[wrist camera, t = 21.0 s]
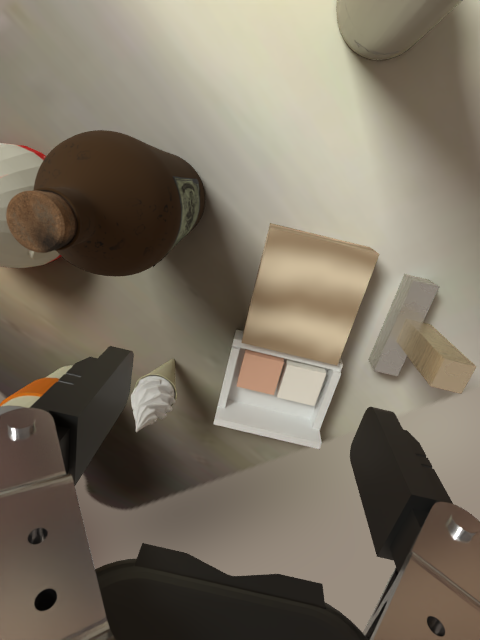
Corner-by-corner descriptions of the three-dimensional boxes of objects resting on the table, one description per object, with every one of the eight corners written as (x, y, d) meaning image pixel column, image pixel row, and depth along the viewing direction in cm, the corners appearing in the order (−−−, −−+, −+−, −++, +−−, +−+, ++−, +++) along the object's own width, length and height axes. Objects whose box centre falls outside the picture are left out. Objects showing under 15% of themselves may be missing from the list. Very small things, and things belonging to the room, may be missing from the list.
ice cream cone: (174, 382, 51) (138, 459, 37) (147, 358, 50) (100, 428, 36) (198, 362, 49) (170, 434, 36) (171, 337, 48) (132, 401, 34)
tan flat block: (270, 223, 42) (270, 227, 38) (369, 247, 42) (379, 254, 38) (243, 329, 47) (241, 342, 43) (332, 350, 47) (337, 365, 44)
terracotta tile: (246, 346, 46) (244, 353, 44) (283, 354, 46) (284, 362, 44) (237, 378, 48) (236, 386, 46) (273, 386, 48) (273, 395, 46)
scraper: (368, 359, 47) (401, 421, 35) (404, 273, 43) (456, 311, 31) (397, 366, 47) (440, 431, 35) (436, 281, 43) (501, 322, 31)
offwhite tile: (286, 357, 46) (287, 364, 45) (324, 365, 46) (326, 373, 45) (276, 388, 48) (277, 397, 46) (312, 397, 48) (314, 406, 47)
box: (235, 329, 47) (231, 349, 42) (338, 353, 47) (347, 377, 42) (219, 397, 51) (213, 424, 46) (314, 419, 51) (319, 449, 46)
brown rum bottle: (113, 226, 43) (-66, 282, 20) (131, 133, 39) (-68, 71, 16) (196, 255, 44) (114, 342, 21) (222, 165, 40) (155, 151, 17)
